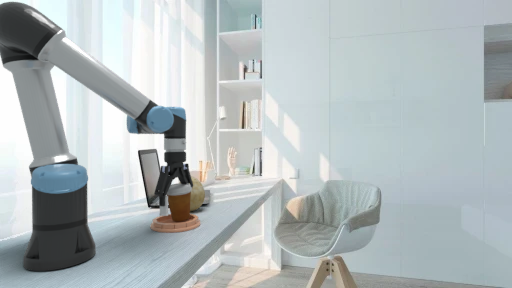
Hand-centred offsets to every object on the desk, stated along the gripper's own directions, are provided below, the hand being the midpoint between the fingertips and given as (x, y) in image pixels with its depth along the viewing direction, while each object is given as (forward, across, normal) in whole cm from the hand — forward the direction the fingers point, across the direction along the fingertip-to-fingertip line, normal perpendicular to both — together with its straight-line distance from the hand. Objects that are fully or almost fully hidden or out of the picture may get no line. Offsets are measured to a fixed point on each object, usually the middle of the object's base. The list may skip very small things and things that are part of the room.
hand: (175, 211), depth 105 cm
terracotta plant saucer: (+5, 0, 0) cm, 5 cm away
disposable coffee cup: (+3, +3, 0) cm, 5 cm away
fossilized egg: (+5, +21, +7) cm, 23 cm away
